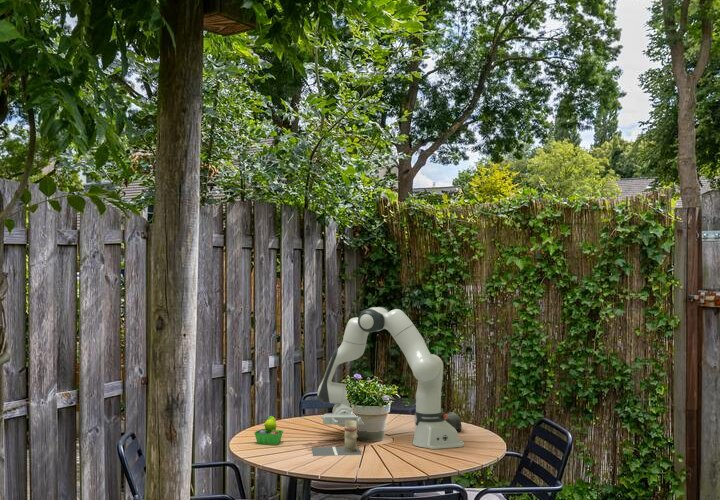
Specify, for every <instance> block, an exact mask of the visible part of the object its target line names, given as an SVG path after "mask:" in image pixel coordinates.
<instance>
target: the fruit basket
mask: <svg viewBox="0 0 720 500" xmlns="http://www.w3.org/2000/svg"><path fill="white" fill-rule="evenodd" d="M263 425H264V428H261V429H257V430H256V431H255V432H254V435H255V441H256V443H257V445H274V446H276V445H279V444H280V443H281V441H282V436H283V434H284V433H283V432H284V430H283V429H282V430H281V429H277V419H276V418H275V417H274V416H273V415H269V416H268V418H267V419H266V420H265V422H264V424H263Z"/></svg>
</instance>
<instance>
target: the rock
mask: <svg viewBox="0 0 720 500" xmlns="http://www.w3.org/2000/svg"><path fill="white" fill-rule="evenodd" d="M443 413H444V414H447V415H448V419H445V421H446V422H448V423H449V424H450V425H451V426H453V427H454V428H455V429H456V430H457V432H462V429H463V427H462V419H461V417H460V416H459V415H458V414H457V413H455V412H453V411H447V412H446V413H445V412H443Z"/></svg>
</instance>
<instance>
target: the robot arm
mask: <svg viewBox="0 0 720 500" xmlns="http://www.w3.org/2000/svg"><path fill="white" fill-rule="evenodd" d="M383 330H387V331H388V332H389V334H390V335H391V337H392V338H393V340H394V341H395V343H396V344H397V345H398V347H399V349H400V351H401V352H402V353H403V355H404V357H405V360H406V361H407V364H408V365H409V368H410V369H411V371H412V375H413V376H414V378H415V379H416V381H417V387H416V392H415V412H414V424H415V428H414V434H413V439H412V443H411V444H412V445H413V446H415V447H421V448H425V449H430V450H437V449H439V450H440V449H441V450H442V449H450V448H451V449H452V448H463V447H464V446H465V445H464V441H463V440H461V439H460V438H459V434H458V430H457V429H455V428H454V427H453V426H451V425H450V424H449V423H448V422H446V421H445V419H448V415H447V414H446V413H445V412H444V411H442V387H443V377H444V363H443V360H442V358H440V357H439V355H437V354H432V353H431V352H430V350H429V348H428V346H427V344H426V342H425V339H424V337H423V336H422V334H421V333H420V331H419V330H418V329H417V327H416V326H415V324H414V323H413V322H412V320H411V319H410V318H409V316H407V314H406V313H405V312H404V311H402V310H401V309H399V308H395V309H392V310H389V309H388V308H387V307H384V306H377V307H376V306H373V307H369V308H368V309H367V308H366V309H363V311H361V313H360V314H359V315H358V317H357V316H355V317H352V318H350V319H349V320H348V322H347V324H346V326H345V330H344V334H343V339H342V341H341V344H340V346H339V347H337V348H334V350H333V352H332V353H331V356H330V358H329V361H328V364H327V366H326V370H325V373H323V374H324V375H323V376H322V380H321V382H320V384H319V386H318V389H317V392H316V393H317V394H316V395H317V398H318V400H319V401H320V402H321V403H323V404H334V406H333V408H332V413H324V414H323V415H321V420H322V424H323V425H327V426H329V425H334V426H339V427H342V428H344V427H345V421H348V420H353V421H357V425H358V426H359V425H365V424H364V422H363V421H362V419H361V417H358V416H356V415H355V414H354V413H353V411H352V408H351V407H350V403H349V401H348V400H347V399H346V395H347V391H346V390H345V389H346V386H347V384H348V383H341V382H340V383H339V382H335V381H332V380H333V378H334V375H335V372H336V369H337V367H338V366H340V365H341V364H344V363H346V362H352V361H354V360H358V359H360V358H362V356H363V355H364V352H365V351H366V347H367V343H368V341H367V340H368V335H369V334H370V333H375V332H380V331H383ZM444 413H445V414H444Z"/></svg>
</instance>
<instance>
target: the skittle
mask: <svg viewBox="0 0 720 500" xmlns="http://www.w3.org/2000/svg"><path fill="white" fill-rule="evenodd" d="M343 428H344V429H343V430H344V447H345V452H356V451H357V446H358V445H357V438H358V437H357V431H358V426H357V421H353V420H348V421H345V427H343Z"/></svg>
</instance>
